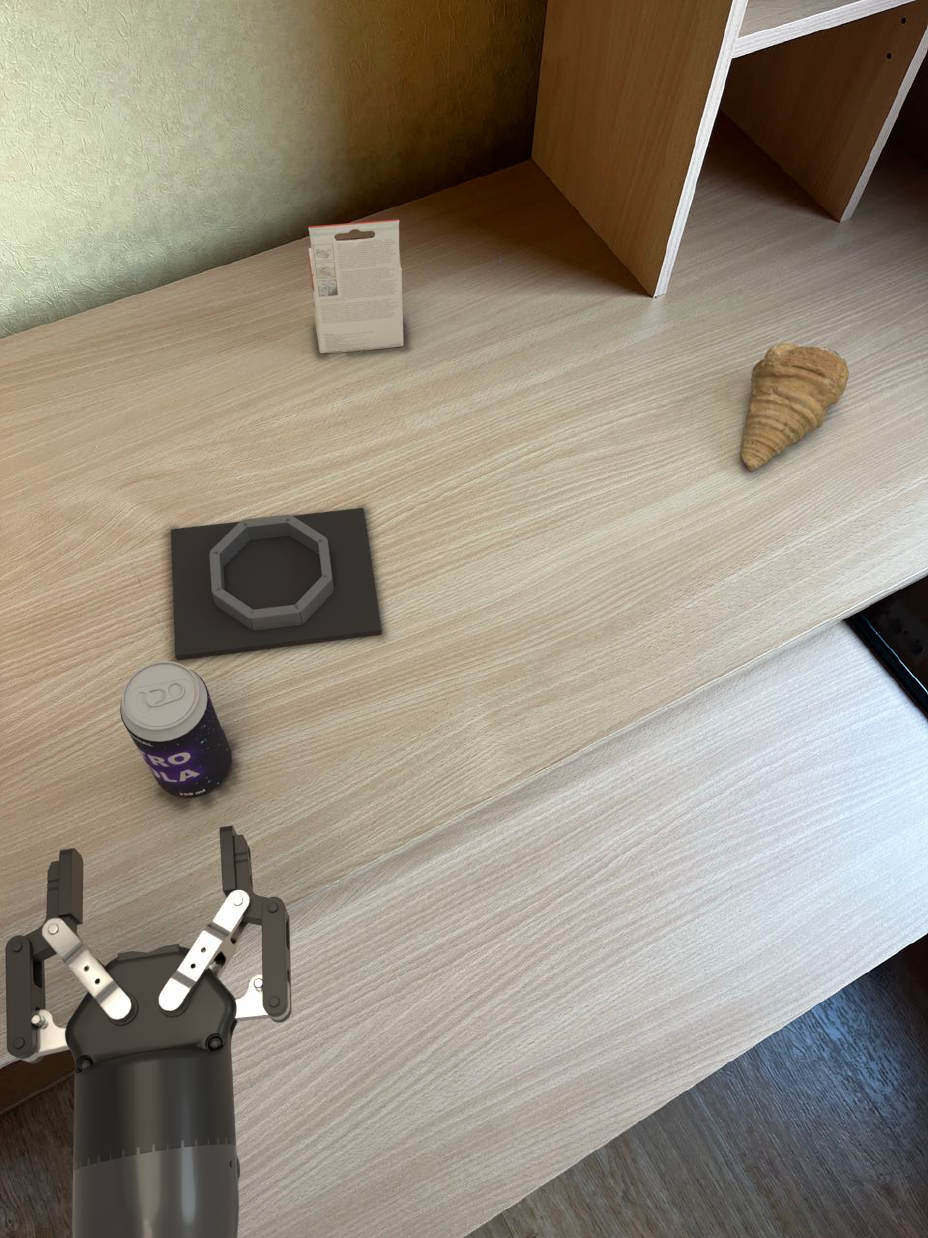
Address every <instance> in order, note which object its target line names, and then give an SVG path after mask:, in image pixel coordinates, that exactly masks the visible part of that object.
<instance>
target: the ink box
mask: <svg viewBox="0 0 928 1238" xmlns="http://www.w3.org/2000/svg"><path fill="white" fill-rule="evenodd" d="M307 229H308V234H309V240H310V247H308V252H307V253H308V263H309V264H308V265H309V275H310V282H311V294H312V302H313V311H314V321H315V330H316V338H317V344H318V350H319V354H322V355H323V354H339V353H349V352H350V353H351V352H359V351H361V352H362V351H372V350H382V349H392V348H397V347H398V348H399V347H400V348H401V347H404V342H405V341H404V313H403V311H404V305H403V303H404V301H403V267H402V262H401V253H400V252H401V251H400V219H388V220H387V219H386V220H374V221H363V222H350V223H349V222H348V223H336V224H326V225H325V224H324V225H312V226H311V225H310V226H308V227H307ZM353 230H357V231H358V232H360V233H363V232H364V233H365V232H373V233H374V234H373V235H369V236H360V237H346V238H335V236H336V235H339V234H341V235H342V234H349V233H350V232H351V231H353Z"/></svg>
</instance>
